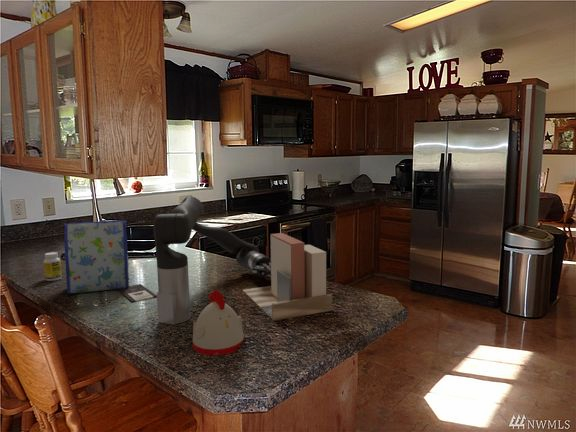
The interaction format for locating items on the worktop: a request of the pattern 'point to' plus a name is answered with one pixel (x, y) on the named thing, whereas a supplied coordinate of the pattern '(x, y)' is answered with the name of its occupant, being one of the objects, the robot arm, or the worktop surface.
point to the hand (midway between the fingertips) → (276, 275)
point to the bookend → (280, 291)
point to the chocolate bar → (137, 293)
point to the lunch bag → (96, 256)
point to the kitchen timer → (217, 328)
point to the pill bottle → (52, 267)
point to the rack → (289, 303)
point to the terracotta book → (288, 263)
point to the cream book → (314, 271)
